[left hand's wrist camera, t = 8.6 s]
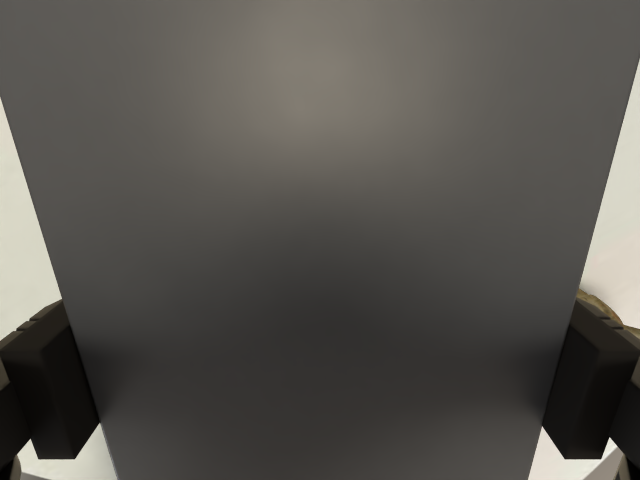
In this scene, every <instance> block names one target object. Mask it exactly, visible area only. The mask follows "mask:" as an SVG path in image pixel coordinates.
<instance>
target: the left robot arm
mask: <svg viewBox="0 0 640 480" xmlns="http://www.w3.org/2000/svg"><path fill="white" fill-rule="evenodd" d="M610 318H611V317H609V316H608V315H607V314H605V313H604V312H603V311H601V310H600V309H599V308H597V307H596V306H594V305H592V304H590V303H588V302H586V301H584V300H582V299H580V298H578V297H576V300H575V304H574V307H573V311H572V315H571V319H570V322H569V326H568V330H567V334H566V338H565V341H564V345H563V349H562V353H561V356H560V360H559V364H558V368H557V371H556V375H555V379H554V383H553V387H552V390H551V394H550V397H549V401H548V405H547V408H546V412H545V415H544V419H543V422H542V426H543V428H544V429H545V431H546V432H547V434H548V435H549V437H550V438H551V440H552V441H553V443H554V444H555V445H556V447H557V448H558V450H559V451H560V453H561V454H562V456H563V457H564V459H601V458H602V456H603V453H604V450H605V447H606V445H607V442H608V439H609V437H610V438H611V439H612V440H613V441H614V443H615V444H616V445H617V446H618V447H619V448H620V450H621V451H622V452H623V453H624V454H623V456H622V459H621V461H620V464H619V466H618V469H617V471H616V474H615V476H614V479H613V480H640V339H639V338H637V337H636V336H635V335H633V334H632V333H631V332H629V331H628V330H624V327H623V326H621V325H620V324H619V323H617V322H616V321H615V320H611V319H610ZM99 423H100V421H99V417H98V414H97V411H96V407H95V404H94V401H93V398H92V394H91V391H90V388H89V385H88V381H87V378H86V375H85V372H84V368H83V365H82V362H81V358H80V355H79V352H78V349H77V345H76V342H75V339H74V336H73V332H72V329H71V326H70V323H69V319H68V316H67V313H66V309H65V306H64V303H63V300H62V299H61V300H59V301H57V302H55V303H53V304H51V305H48V306H46V307H45V308H43V309H42V310H41V311H39V312H38V313H37V314H35V315H34V316H33V317H31V318H30V319H29V321H26V322H25V323H23V324H22V325H21V326H19V327H18V328H17V330H16V331H13V332H11V333H10V334H9V335H7V336H6V337H5V338H3V339H2V340H1V341H0V480H20V476H21V465H20V461H19V459H18V456H17V454H18V453H19V451H20V450H21V449H22V448H23V447H24V445H25V444H26V443H27V442H28V441H29V440H30V438H31V441H32V443H33V446H34V449H35V451H36V454H37V457H38V459H75V458H76V457H77V455H78V454H79V452H80V451H81V449H82V448H83V446H84V445H85V443H86V442H87V441H88V439H89V438H90V436H91V435H92V433H93V432H94V430H95V429H96V427H97V426H98V424H99Z"/></svg>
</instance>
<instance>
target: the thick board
mask: <svg viewBox="0 0 640 480" xmlns="http://www.w3.org/2000/svg"><path fill="white" fill-rule="evenodd" d="M639 59H640V0H0V97H1V100H2V104H3V107H4V110H5V113H6V117H7V120H8V123H9V127H10V130H11V133H12V136H13V140H14V143H15V146H16V149H17V153H18V156H19V159H20V162H21V166H22V169H23V172H24V176H25V179H26V182H27V185H28V189H29V192H30V195H31V198H32V202H33V205H34V208H35V211H36V215H37V218H38V221H39V225H40V228H41V231H42V234H43V238H44V241H45V244H46V247H47V251H48V254H49V257H50V260H51V264H52V267H53V270H54V274H55V277H56V280H57V283H58V287H59V290H60V293H61V296H62V300H63V303H64V306H65V309H66V313H67V316H68V319H69V323H70V326H71V329H72V332H73V336H74V339H75V342H76V345H77V349H78V352H79V355H80V358H81V362H82V365H83V368H84V372H85V375H86V378H87V381H88V385H89V388H90V391H91V394H92V398H93V401H94V404H95V407H96V411H97V414H98V417H99V421H100V424H101V427H102V430H103V434H104V437H105V440H106V443H107V447H108V450H109V453H110V456H111V460H112V463H113V466H114V469H115V473H116V476H117V479H118V480H528V477H529V473H530V469H531V466H532V462H533V458H534V454H535V451H536V447H537V443H538V439H539V435H540V432H541V428H542V422H543V419H544V415H545V412H546V408H547V405H548V401H549V397H550V394H551V390H552V387H553V383H554V379H555V375H556V371H557V368H558V364H559V360H560V356H561V353H562V349H563V345H564V341H565V338H566V334H567V330H568V326H569V322H570V319H571V315H572V311H573V307H574V304H575V300H576V296H577V292H578V289H579V285H580V281H581V277H582V274H583V270H584V266H585V262H586V258H587V255H588V251H589V247H590V243H591V240H592V236H593V232H594V228H595V225H596V221H597V217H598V213H599V209H600V206H601V202H602V198H603V194H604V191H605V187H606V183H607V179H608V176H609V172H610V168H611V164H612V161H613V157H614V153H615V149H616V145H617V142H618V138H619V134H620V130H621V127H622V123H623V119H624V115H625V112H626V108H627V104H628V100H629V96H630V93H631V89H632V85H633V81H634V78H635V74H636V70H637V66H638V63H639Z"/></svg>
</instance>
